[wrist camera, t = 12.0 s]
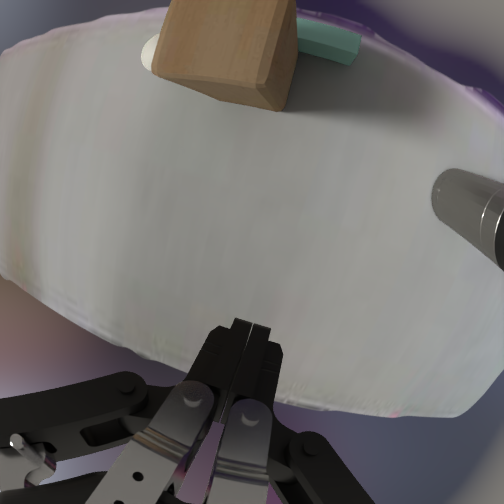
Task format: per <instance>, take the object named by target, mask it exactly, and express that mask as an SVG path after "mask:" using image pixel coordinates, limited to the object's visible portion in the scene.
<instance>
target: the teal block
mask: <svg viewBox="0 0 504 504" xmlns="http://www.w3.org/2000/svg"><path fill="white" fill-rule="evenodd" d="M361 37H362V36H361V35H358V34H355V33H352V32H349V31H346V30H343V29H340V28H336V27H333V26H329V25H326V24H322V23H318V22H314V21H310V20H306V19H301V18H297V38H298V51H299V52H303V53H307V54H311V55H315V56H318V57H322V58H325V59H329V60H332V61H335V62H339V63H342V64H345V65H348V66H350V65H351V63H352V62H353V60H354V59H355V58H356V56H357V55H358V51H359V46H360V42H361Z"/></svg>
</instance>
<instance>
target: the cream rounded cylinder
mask: <svg viewBox="0 0 504 504" xmlns="http://www.w3.org/2000/svg"><path fill="white" fill-rule="evenodd" d="M159 35H160V33H159V34H157V35H155V36H153V37H152V38H151V39H150V40H149V41H148V42H147V43H146V44H145V46H144V48H143V50H142V54H141V60H142V63H143V65H144V67H145V68H146V69H148V70H150V71H152V70H151V63H152V59H153V56H154V52H155V49H156V45H157V42H158V39H159Z"/></svg>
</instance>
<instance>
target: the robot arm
mask: <svg viewBox="0 0 504 504" xmlns="http://www.w3.org/2000/svg"><path fill="white" fill-rule="evenodd" d="M432 206H433V210H434V212H435V214H436V216H437V217H438V218H439V220H441V221H442V222H443V223H444V224H446V225H447V226H449V227H450V228H451V229H452V230H454V231H455V232H456V233H458V234H459V235H460V236H462V237H463V238H464V239H466V240H467V241H468V242H469V243H471V244H472V245H473V246H474V247H476V248H477V249H478V250H479V251H481V252H482V253H483V254H484V255H485V256H487V257H488V258H489V259H490V260H491V261H493V262H494V263H495V264H496V265H497V266H498V267H499V268H501V269H502V270H503V271H504V184H503V183H500V182H497V181H494V180H491V179H489V178H486V177H483V176H480V175H476V174H473V173H470V172H467V171H464V170H460V169H449V170H446V171H444V172H443V173H442V174H441V175H440V176H439V177H438V178H437V180H436V182H435V184H434V186H433V190H432ZM251 327H252V323H251V322H248V321H245V320H242V319H238V318H235V319H234V322H233V324H232V326H231V328H230V329H228V328H225V327H222V326H218V327H216V328H215V329H213V330H212V331H211V332H210V333H209V335H208V337H207V339H206V340H205V343H204V344H203V346H202V348H201V350H200V352H199V354H198V356H197V357H196V359H195V361H194V363H193V365H192V367H191V369H190V371H189V373H188V375H187V376H186V378H185V379H184V380H183V381H182V382H180V383H178V384H177V385H175V386H171V387H159V386H151V385H146V383H145V381H144V379H143V378H142V377H140V376H139V375H137V374H136V373H133V372H128V371H123V372H118V373H114V374H111V375H107V376H104V377H100V378H96V379H92V380H88V381H84V382H80V383H76V384H72V385H68V386H64V387H59V388H55V389H50V390H46V391H41V392H36V393H30V394H25V395H20V396H14V397H8V398H2V399H0V490H1V492H0V504H190V503H185V502H183V501H181V500H179V499H178V498H176V495H177V493H178V491H179V490H180V488H181V485H182V483H183V481H184V479H185V476H186V474H187V472H188V470H189V468H190V466H191V464H192V463H193V461H194V459H195V456H196V455H197V453H198V451H199V449H200V447H201V445H202V443H203V441H204V439H205V437H206V435H207V434H208V432H209V430H210V428H211V425H212V422H213V421H215V422H219V420H220V418H221V415H222V412H223V409H224V407H225V404H226V407H225V410H224V413H223V416H222V420H221V423H222V424H225V426H224V429H223V432H222V435H221V438H220V441H219V445H218V449H217V452H216V456H215V460H214V464H213V467H212V472H211V475H210V479H209V482H208V486H207V489H206V492H205V496H204V499H203V503H202V504H266V499H267V492H268V485H269V482H270V484H271V485H272V487H273V489H274V490H275V492H276V494H277V495H278V497H279V498H280V500H281V502H282V503H283V504H375V503H374V501H373V500H372V499H371V498H370V496H369V495H368V494H367V493H366V491H365V490H364V489H363V487H362V486H361V485H360V484H359V482H358V481H357V480H356V478H355V477H354V476H353V474H352V473H351V472H350V470H349V469H348V468H347V467H346V465H345V464H344V463H343V461H342V460H341V459H340V457H339V456H338V454H337V453H336V452H335V450H334V449H333V448H332V446H331V445H330V444H329V442H328V441H327V440H326V438H324V437H323V436H322V435H320V434H318V433H316V432H311V431H305V432H301V433H299V434H298V433H296V432H294V431H293V430H291V429H289V428H287V427H285V426H284V425H282V424H281V423H280V422H279V421H278V420H277V418H276V417H275V415H274V412H273V403H274V398H275V393H276V388H277V384H278V379H279V373H280V369H281V363H282V358H283V352H282V349H281V346H280V344H278V343H275V342H271V341H268V339H269V335H270V331H271V328H268V327H265V326H261V325H258V324H255V323H254V325H253V328H252V331H251V333H250V330H251ZM249 334H250V336H249ZM248 337H249V339H248ZM247 340H248V342H247ZM246 344H247V345H246ZM245 347H246V348H245ZM244 350H245V351H244ZM227 399H228V400H227ZM226 401H227V403H226ZM126 443H128V444H127V445H126V447H125V448H124V450H123V451H122V452H121V454H120V455H119V457H118V458H117V460H116V461H115V462H114V464H113V465H112V466H111V468H110V469H109V471H104V472H103V471H101V472H93V473H89V474H85V475H81V476H78V477H74V478H70V479H67V480H62V481H58V482H54V483H49V484H44V485H39V483H40V482H41V481H42V480H44V479H46V478H49V477H51V476H52V475H53V474H54V473H55V470H56V462H58V461H63V460H67V459H72V458H76V457H80V456H84V455H88V454H92V453H96V452H99V451H103V450H106V449H110V448H113V447H116V446H119V445H123V444H126Z"/></svg>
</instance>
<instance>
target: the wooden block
mask: <svg viewBox="0 0 504 504" xmlns="http://www.w3.org/2000/svg"><path fill="white" fill-rule="evenodd" d="M297 58H298V38H297V17H296V1H295V0H172V1H171V4H170V6H169V9H168V12H167V14H166V17H165V20H164V23H163V26H162V29H161V32H160V35H159V39H158V42H157V45H156V49H155V52H154V56H153V59H152V63H151V70H152V73H153V74H154V75H156V76H158V77H160V78H163V79H166V80H169V81H171V82H174V83H177V84H180V85H182V86H185V87H188V88H190V89H193V90H195V91H198V92H200V93H203V94H205V95H208V96H210V97H212V98H215V99H217V100H219V101H225V102H231V103H236V104H242V105H247V106H252V107H257V108H262V109H266V110H271V111H275V112H278V111H282V110H283V109H284V107H285V105H286V101H287V97H288V93H289V89H290V86H291V82H292V78H293V74H294V70H295V66H296V62H297Z"/></svg>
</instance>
